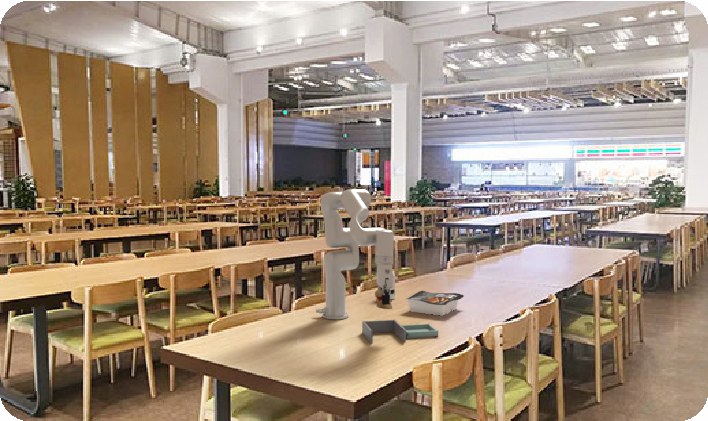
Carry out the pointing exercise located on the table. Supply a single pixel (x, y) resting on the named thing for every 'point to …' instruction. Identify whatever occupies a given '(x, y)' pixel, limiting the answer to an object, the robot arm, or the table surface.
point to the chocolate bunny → (379, 300)
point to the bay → (382, 328)
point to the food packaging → (433, 302)
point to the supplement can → (392, 290)
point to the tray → (420, 331)
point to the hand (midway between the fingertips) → (383, 301)
